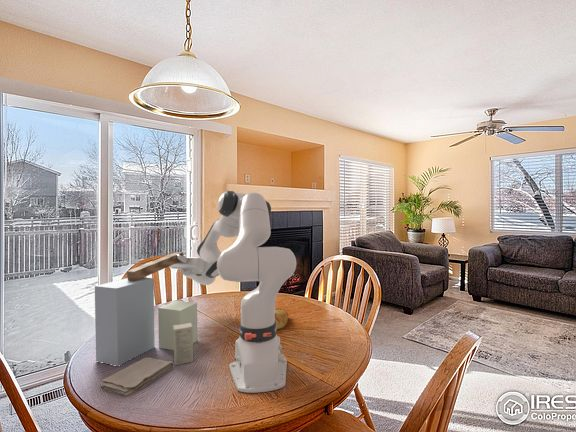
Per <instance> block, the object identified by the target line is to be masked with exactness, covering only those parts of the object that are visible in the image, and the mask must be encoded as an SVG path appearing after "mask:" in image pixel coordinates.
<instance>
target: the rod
mask: <svg viewBox="0 0 576 432" xmlns="http://www.w3.org/2000/svg"><path fill="white" fill-rule="evenodd" d="M167 255H168V256H167ZM167 255H164V256H165V257H164V256H162V257H160V258H157V259H155V260H152V261H150V262H147V263H144V264H142V265H139V266H137V267H134V268H132V269H129V270H126V276H127V277H126V278H128V280H129V281H137V280H139V279H141V278H147V277H148V276H150V275H152V274H154V273H157V272H160V271H162V270H164V269H167V268H169V266H171V265H174V264H176V263H178V262H180V260H177V259H176V257H177V255H181V256H183V257H184V252H183V251H176V252H173V253H171V254H167Z"/></svg>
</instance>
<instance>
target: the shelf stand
mask: <svg viewBox="0 0 576 432" xmlns="http://www.w3.org/2000/svg"><path fill="white" fill-rule="evenodd" d="M154 279H155V278H153V277H144V278H141V279H139V280H137V281H129V280H128V277H126V278H122V279H119V280H114V281H109V282H106V283H102V284H97V285H95V286H94V311H95V312H94V319H95V321H94V322H95V325H94V326H95V362H96V361H98V362H103V363H106V364H112V365H116V366H119V365H121V364H123V363H124V364H126V363H128V362H129V361H128V360H130V359H132V358H134V357H135V358H137V357H139V356H141V355H143V354H144V352H145V353H146V352H148V351H150V350H152V349H154V348H155V346H156V343H155V338H156V337H155V335H156V334H155V288H154V287H155V285H154V284H155V283H154V282H155V281H154ZM142 353H143V354H142ZM140 354H141V355H140ZM138 355H139V356H138ZM136 356H137V357H136ZM135 358H134V359H135ZM132 360H133V359H132ZM127 361H128V362H127ZM130 361H131V360H130ZM98 362H97V363H98ZM125 362H126V363H125ZM106 364H105V365H106ZM124 364H123V365H124ZM121 366H122V365H121ZM119 367H120V366H119Z"/></svg>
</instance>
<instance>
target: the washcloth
mask: <svg viewBox="0 0 576 432" xmlns="http://www.w3.org/2000/svg"><path fill="white" fill-rule="evenodd" d="M174 366H175V364H174V362H173V361H168V360H164V359H163V360H161V359H158V358H153V357H147V356H146V357H144V358H141V359H139V360H138V361H136V362H134V363H132V364H130V365H127V366H126V367H123V369H120V370H119V371H117V372H115V373H113V374H111V375H109V376H107V377H106V378H103V379H102V380H101V382H100V383H101V386H100V388H101V387H102V388H103V389H104V390H105V391H107V390H108V391H107V392H111V393H114V392H115V394H117V393H118V394H117V395H120V396H123V397H124V396H125V397H127V396H129V395H131V394H133V393H135V392H137V391H139V390H140V389H142V388H143V387H145V386H147V385H149V384H150V383H151V382H153V381H155V380H157V379H159V378H160V377H161V376H163V375H164V374H166V373H167V372H170V371H171V370H172V369H173V367H174Z"/></svg>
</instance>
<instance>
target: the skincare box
mask: <svg viewBox="0 0 576 432" xmlns="http://www.w3.org/2000/svg"><path fill="white" fill-rule="evenodd" d="M173 338H174V350H173V360H174V362H173V363H174V366H176V365H177V366H178V365H181V364H187V363H192V362H194V343H193V332H192V323H185V324H178V325H173Z"/></svg>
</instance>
